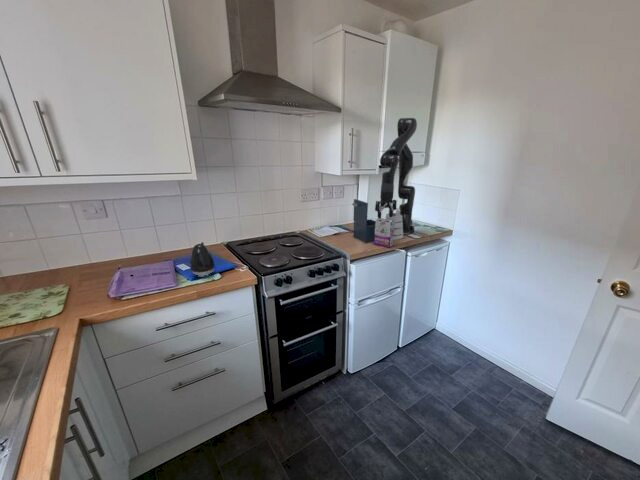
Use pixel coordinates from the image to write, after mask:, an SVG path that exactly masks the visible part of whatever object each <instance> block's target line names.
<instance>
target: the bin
mask: <svg viewBox="0 0 640 480" xmlns="http://www.w3.org/2000/svg"><path fill="white" fill-rule="evenodd" d="M352 235H353V238H354V239H357V240H359V241H361V242H363V243H365V244H368V243H374V236H375V220H374V219H372V218H371V219H370V218H369V219H367V226H365V225H362V224H360V223H358V222H355V221H353V234H352Z"/></svg>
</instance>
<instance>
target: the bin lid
mask: <svg viewBox="0 0 640 480" xmlns="http://www.w3.org/2000/svg"><path fill="white" fill-rule="evenodd" d="M352 206H353V222H354V221H355V222H358V223H360V224H362V225H365V226H367V220H368V209H369V207H368V206H369V203H368V202H366V201H363V200H359V199H357V198H354V199H353V202H352Z"/></svg>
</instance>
